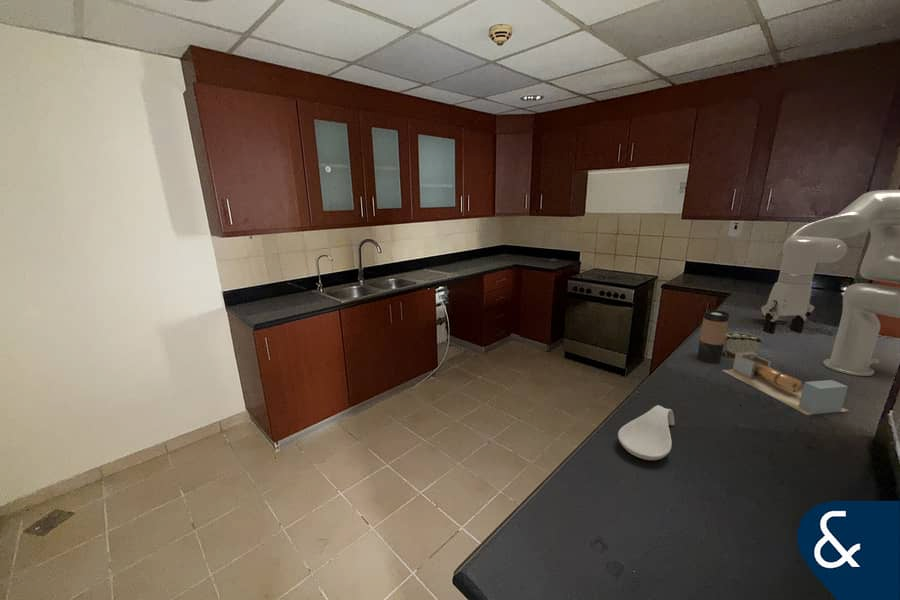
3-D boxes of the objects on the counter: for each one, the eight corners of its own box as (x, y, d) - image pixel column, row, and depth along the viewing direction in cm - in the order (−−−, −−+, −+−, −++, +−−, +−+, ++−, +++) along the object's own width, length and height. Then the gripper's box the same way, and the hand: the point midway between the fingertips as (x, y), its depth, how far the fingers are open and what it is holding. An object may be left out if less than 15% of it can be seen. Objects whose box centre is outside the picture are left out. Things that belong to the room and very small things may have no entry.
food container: (752, 356, 144) (756, 332, 142) (759, 362, 139) (764, 338, 136) (715, 353, 148) (719, 330, 146) (721, 358, 143) (725, 335, 140)
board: (756, 370, 133) (757, 367, 132) (849, 413, 105) (850, 410, 104) (721, 372, 131) (722, 370, 131) (805, 417, 103) (806, 414, 103)
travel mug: (724, 366, 136) (733, 316, 131) (701, 365, 137) (710, 315, 132) (714, 358, 143) (722, 310, 138) (692, 357, 145) (700, 309, 139)
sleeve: (749, 369, 131) (752, 351, 129) (767, 378, 124) (771, 359, 122) (732, 370, 130) (735, 352, 129) (750, 379, 124) (754, 360, 122)
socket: (825, 404, 108) (832, 379, 106) (840, 411, 104) (847, 386, 102) (798, 406, 107) (804, 382, 105) (812, 414, 103) (819, 388, 101)
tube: (738, 368, 129) (740, 357, 128) (749, 367, 130) (751, 356, 128) (789, 393, 112) (792, 381, 111) (801, 392, 112) (804, 380, 111)
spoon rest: (660, 475, 83) (664, 449, 81) (609, 452, 91) (611, 427, 89) (687, 430, 99) (691, 407, 97) (641, 414, 107) (644, 392, 106)
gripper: (806, 276, 115) (794, 327, 119) (757, 277, 113) (746, 329, 117) (833, 281, 108) (818, 335, 112) (781, 282, 106) (768, 337, 110)
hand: (781, 332), depth 115 cm, fingers open, 9 cm apart
